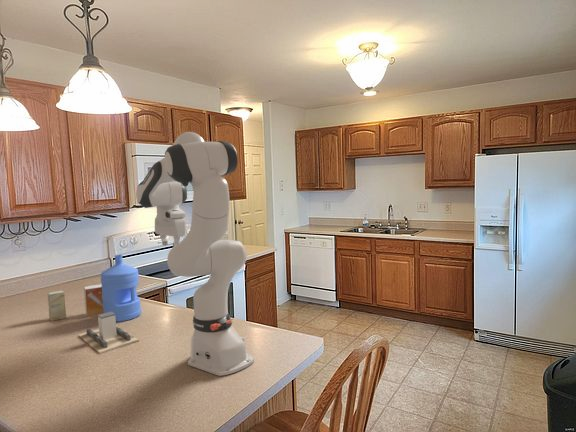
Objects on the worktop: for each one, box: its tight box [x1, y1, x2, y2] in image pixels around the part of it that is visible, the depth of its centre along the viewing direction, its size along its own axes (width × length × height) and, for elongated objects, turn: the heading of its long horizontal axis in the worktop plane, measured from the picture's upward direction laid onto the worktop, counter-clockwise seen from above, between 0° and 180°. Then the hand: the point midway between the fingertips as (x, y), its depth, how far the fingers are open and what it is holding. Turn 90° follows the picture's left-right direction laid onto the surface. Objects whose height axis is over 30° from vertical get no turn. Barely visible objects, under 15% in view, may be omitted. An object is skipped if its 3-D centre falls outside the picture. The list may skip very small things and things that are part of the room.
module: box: [97, 312, 117, 340], centre depth 148 cm, size 4×5×9 cm
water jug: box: [100, 254, 142, 323], centre depth 172 cm, size 16×16×28 cm
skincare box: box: [47, 289, 67, 322], centre depth 173 cm, size 6×4×12 cm
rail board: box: [78, 324, 140, 354], centre depth 148 cm, size 24×14×3 cm, turn 44°
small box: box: [83, 283, 104, 318], centre depth 178 cm, size 8×6×13 cm
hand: (170, 246), depth 158 cm, fingers open, 8 cm apart
